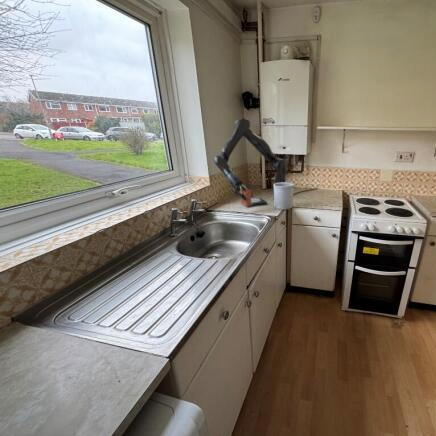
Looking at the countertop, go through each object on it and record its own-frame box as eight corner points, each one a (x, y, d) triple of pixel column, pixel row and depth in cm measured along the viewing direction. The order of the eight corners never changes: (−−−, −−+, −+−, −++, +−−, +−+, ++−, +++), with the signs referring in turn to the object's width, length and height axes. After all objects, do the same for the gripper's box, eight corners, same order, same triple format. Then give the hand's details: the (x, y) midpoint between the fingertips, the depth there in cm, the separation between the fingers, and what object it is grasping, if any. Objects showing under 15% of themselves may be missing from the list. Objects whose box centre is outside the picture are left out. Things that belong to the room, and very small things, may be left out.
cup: (249, 202, 166) (248, 189, 163) (253, 205, 161) (252, 191, 158) (241, 204, 163) (240, 190, 160) (244, 206, 158) (243, 192, 155)
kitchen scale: (260, 200, 194) (260, 197, 193) (267, 204, 182) (267, 201, 181) (241, 203, 186) (241, 199, 185) (247, 207, 175) (247, 203, 174)
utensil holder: (297, 207, 173) (297, 184, 167) (280, 211, 166) (279, 187, 160) (287, 203, 185) (287, 181, 179) (270, 206, 177) (269, 183, 172)
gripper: (229, 177, 153) (244, 197, 152) (243, 174, 165) (257, 192, 163) (224, 185, 157) (239, 204, 156) (238, 181, 169) (252, 199, 168)
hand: (248, 198), depth 160 cm, fingers closed on cup, 6 cm apart
